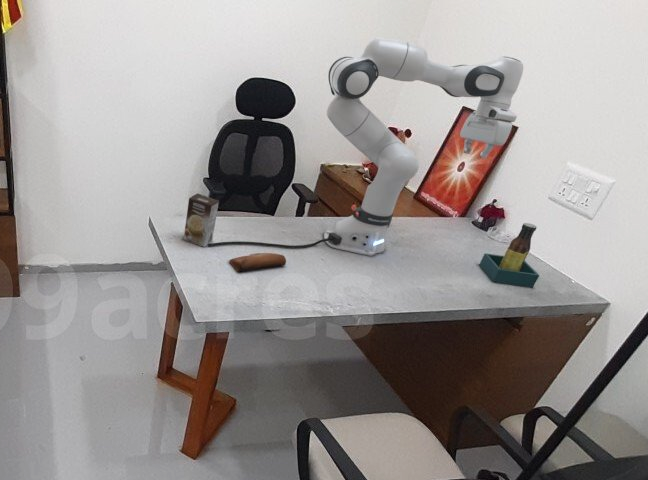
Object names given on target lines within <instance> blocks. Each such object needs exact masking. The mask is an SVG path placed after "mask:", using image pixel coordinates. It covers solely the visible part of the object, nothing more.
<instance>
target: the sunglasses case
mask: <svg viewBox="0 0 648 480" xmlns="http://www.w3.org/2000/svg"><path fill="white" fill-rule="evenodd" d="M229 264H230V265H231V266H232V267H233V268H234V270H235V271H236V272H237V273H240V272H245V271H249V270H255V269H260V268H269V267H277V266H286V265H287V258H286V256H285V255H283V254H278V253H273V252H262V253H261V252H257V253H250V254H249V255H242V256H238V257H233V258H231V259H229Z"/></svg>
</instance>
